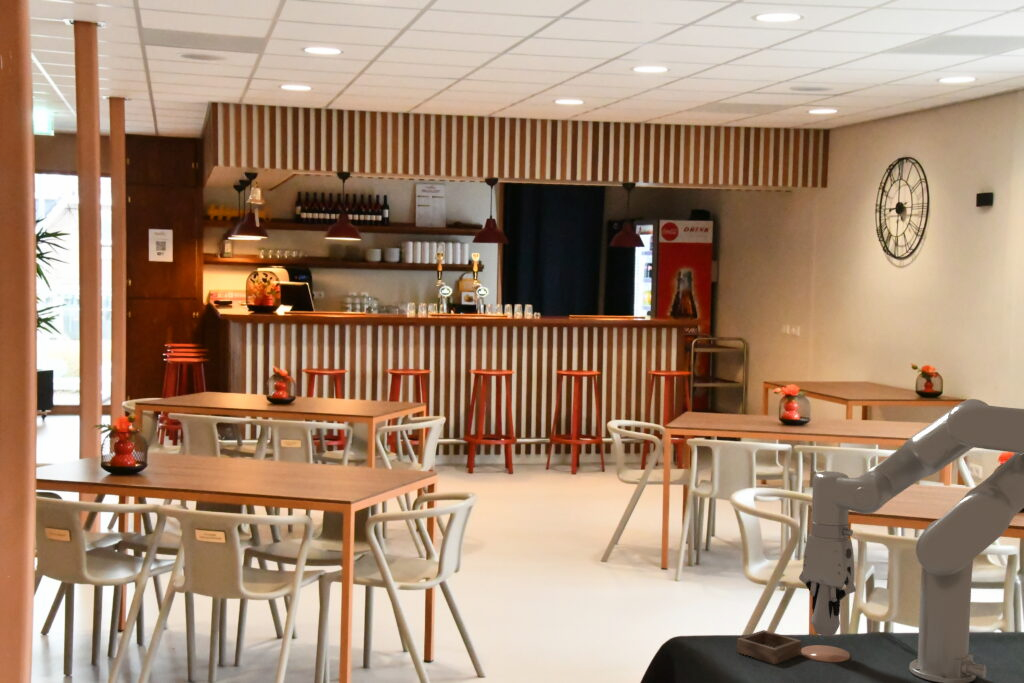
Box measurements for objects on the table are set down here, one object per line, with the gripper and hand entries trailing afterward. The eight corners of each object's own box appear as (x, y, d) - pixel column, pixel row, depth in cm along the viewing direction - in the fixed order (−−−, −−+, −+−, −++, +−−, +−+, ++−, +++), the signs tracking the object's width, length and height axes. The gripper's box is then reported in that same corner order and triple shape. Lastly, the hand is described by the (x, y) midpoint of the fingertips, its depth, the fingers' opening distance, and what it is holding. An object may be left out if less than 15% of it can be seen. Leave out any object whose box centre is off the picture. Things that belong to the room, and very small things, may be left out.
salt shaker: (815, 627, 245) (818, 567, 245) (842, 631, 242) (844, 571, 242) (807, 633, 240) (810, 573, 240) (834, 638, 237) (837, 577, 237)
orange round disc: (859, 655, 241) (859, 653, 241) (833, 665, 234) (833, 663, 234) (818, 644, 248) (818, 642, 248) (791, 653, 242) (791, 651, 242)
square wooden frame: (801, 654, 241) (801, 640, 241) (774, 664, 235) (774, 649, 234) (763, 643, 248) (763, 630, 248) (736, 652, 242) (736, 638, 242)
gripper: (873, 535, 237) (869, 622, 238) (806, 521, 249) (802, 604, 250) (854, 540, 232) (850, 629, 233) (786, 526, 244) (782, 610, 245)
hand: (825, 615), depth 241 cm, fingers closed on salt shaker, 3 cm apart
